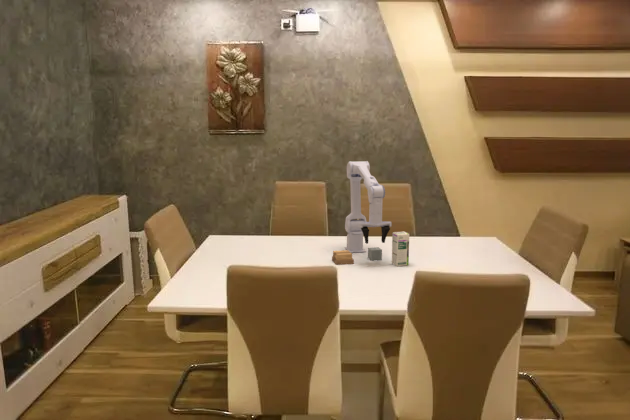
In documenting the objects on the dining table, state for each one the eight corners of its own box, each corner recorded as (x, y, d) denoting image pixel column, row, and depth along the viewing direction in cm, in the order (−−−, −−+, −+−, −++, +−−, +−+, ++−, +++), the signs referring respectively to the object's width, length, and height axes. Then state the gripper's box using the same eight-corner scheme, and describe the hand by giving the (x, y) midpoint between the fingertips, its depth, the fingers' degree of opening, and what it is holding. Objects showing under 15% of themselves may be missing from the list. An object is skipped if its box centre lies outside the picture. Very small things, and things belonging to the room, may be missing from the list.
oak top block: (333, 256, 248) (333, 250, 247) (347, 255, 249) (347, 250, 249) (337, 260, 241) (337, 254, 240) (352, 259, 242) (352, 253, 242)
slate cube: (367, 258, 253) (368, 247, 252) (378, 257, 254) (378, 247, 253) (371, 261, 248) (371, 250, 247) (381, 260, 249) (382, 249, 248)
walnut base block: (331, 261, 248) (332, 256, 248) (348, 260, 250) (348, 255, 250) (336, 266, 241) (336, 260, 240) (353, 265, 242) (353, 259, 242)
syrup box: (396, 266, 239) (397, 234, 236) (391, 263, 244) (392, 231, 242) (408, 265, 240) (409, 233, 238) (403, 262, 246) (404, 230, 243)
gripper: (362, 214, 233) (362, 245, 235) (394, 213, 236) (393, 244, 238) (357, 212, 239) (357, 241, 242) (388, 210, 243) (387, 240, 245)
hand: (374, 242), depth 241 cm, fingers open, 7 cm apart
